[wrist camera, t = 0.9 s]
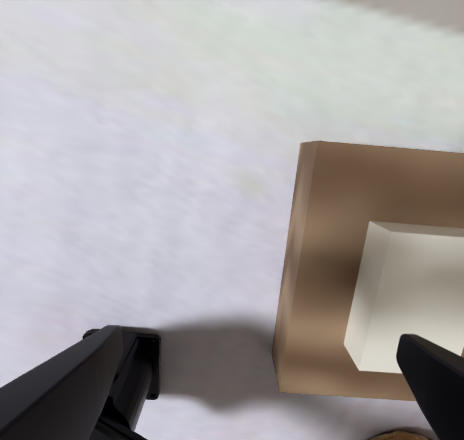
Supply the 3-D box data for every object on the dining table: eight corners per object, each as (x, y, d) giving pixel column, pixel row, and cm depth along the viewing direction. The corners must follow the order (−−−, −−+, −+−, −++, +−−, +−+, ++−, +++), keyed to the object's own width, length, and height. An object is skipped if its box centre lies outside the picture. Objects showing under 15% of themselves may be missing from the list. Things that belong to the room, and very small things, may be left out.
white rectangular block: (426, 349, 19) (453, 376, 17) (343, 343, 19) (358, 370, 17) (463, 228, 17) (499, 240, 15) (369, 220, 17) (391, 231, 15)
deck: (426, 364, 24) (463, 404, 20) (271, 353, 24) (279, 392, 20) (489, 159, 20) (551, 160, 16) (300, 142, 20) (317, 140, 16)
